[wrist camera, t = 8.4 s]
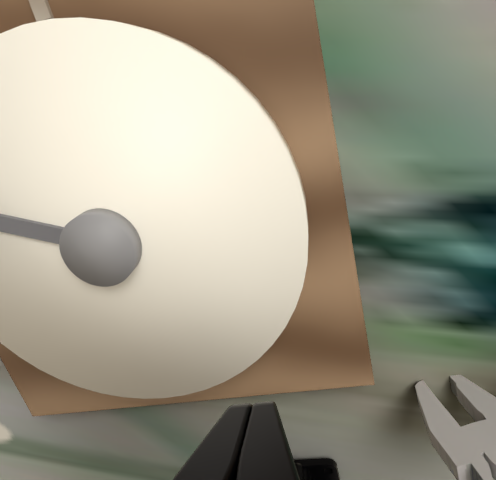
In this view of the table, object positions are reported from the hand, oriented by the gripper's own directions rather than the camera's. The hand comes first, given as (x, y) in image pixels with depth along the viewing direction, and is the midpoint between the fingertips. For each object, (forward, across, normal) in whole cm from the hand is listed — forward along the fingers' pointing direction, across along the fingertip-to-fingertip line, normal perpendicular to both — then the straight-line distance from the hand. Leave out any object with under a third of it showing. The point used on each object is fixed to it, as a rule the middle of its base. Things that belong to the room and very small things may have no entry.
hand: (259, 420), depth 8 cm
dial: (+10, +7, -1) cm, 13 cm away
